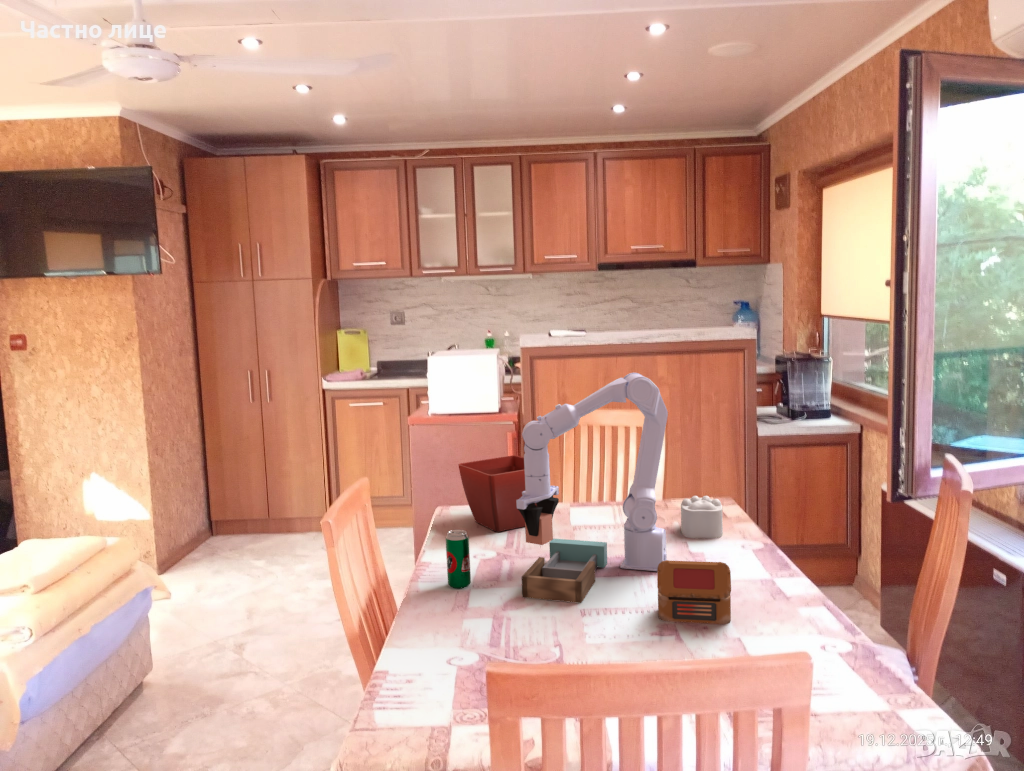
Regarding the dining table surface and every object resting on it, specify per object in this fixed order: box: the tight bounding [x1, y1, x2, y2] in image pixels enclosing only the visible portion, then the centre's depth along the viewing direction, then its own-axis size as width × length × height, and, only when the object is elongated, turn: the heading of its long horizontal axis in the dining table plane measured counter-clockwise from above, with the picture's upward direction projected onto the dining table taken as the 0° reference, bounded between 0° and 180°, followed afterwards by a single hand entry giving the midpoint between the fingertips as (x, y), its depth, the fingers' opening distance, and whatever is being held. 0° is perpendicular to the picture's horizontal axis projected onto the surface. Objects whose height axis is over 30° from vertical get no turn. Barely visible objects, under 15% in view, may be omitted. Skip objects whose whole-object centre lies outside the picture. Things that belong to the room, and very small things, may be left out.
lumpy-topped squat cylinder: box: [680, 495, 724, 539], centre depth 199 cm, size 10×13×9 cm
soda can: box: [445, 529, 472, 590], centre depth 167 cm, size 5×5×12 cm
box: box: [656, 559, 732, 625], centre depth 147 cm, size 28×28×12 cm
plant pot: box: [458, 454, 550, 532], centre depth 212 cm, size 19×19×17 cm
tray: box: [542, 538, 608, 580], centre depth 173 cm, size 13×14×5 cm
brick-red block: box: [524, 513, 554, 546], centre depth 175 cm, size 4×4×6 cm
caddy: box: [521, 556, 596, 604], centre depth 163 cm, size 13×12×4 cm
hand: (539, 532), depth 175 cm, fingers closed on brick-red block, 4 cm apart
